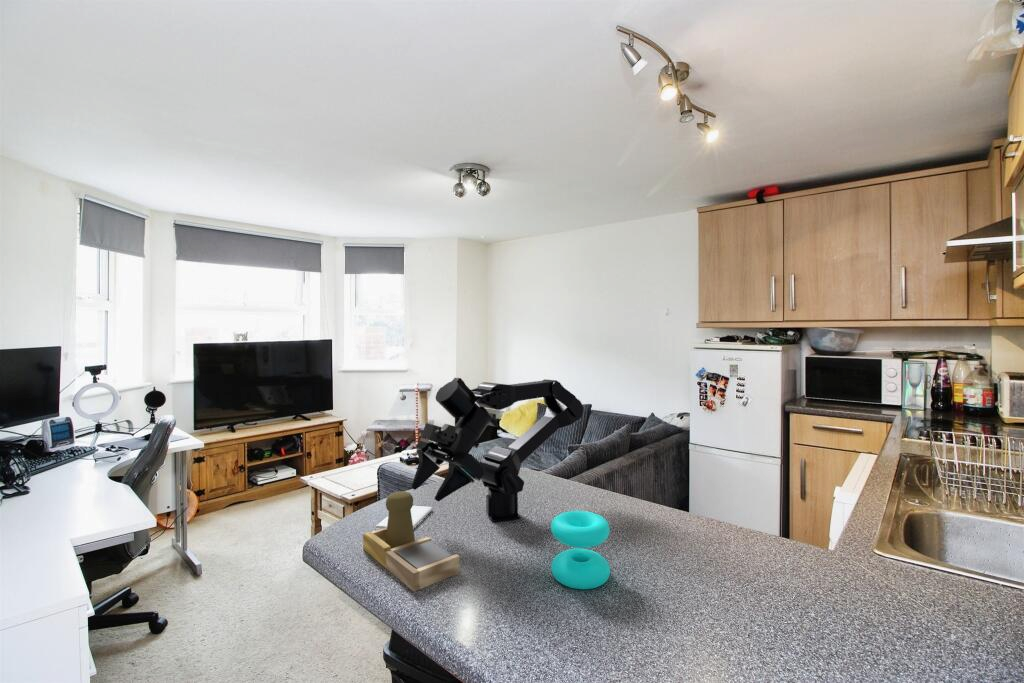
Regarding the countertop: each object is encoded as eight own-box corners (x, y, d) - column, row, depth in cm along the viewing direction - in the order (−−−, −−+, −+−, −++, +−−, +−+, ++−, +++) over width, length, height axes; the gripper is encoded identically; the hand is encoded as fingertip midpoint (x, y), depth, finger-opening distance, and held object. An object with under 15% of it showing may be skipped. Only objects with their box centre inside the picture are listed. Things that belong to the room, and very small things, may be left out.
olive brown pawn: (401, 540, 95) (400, 486, 95) (422, 547, 92) (421, 491, 92) (377, 551, 90) (376, 494, 90) (399, 559, 87) (398, 500, 87)
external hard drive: (432, 513, 111) (410, 535, 99) (400, 511, 113) (375, 532, 101) (432, 506, 111) (410, 528, 99) (400, 504, 113) (375, 524, 101)
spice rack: (405, 535, 98) (404, 519, 98) (459, 572, 82) (459, 553, 82) (362, 549, 92) (362, 531, 92) (413, 591, 76) (413, 570, 76)
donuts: (554, 506, 86) (610, 510, 84) (555, 560, 87) (610, 565, 84) (546, 528, 77) (609, 533, 74) (547, 589, 77) (609, 596, 75)
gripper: (421, 403, 104) (376, 462, 98) (470, 413, 90) (421, 483, 83) (452, 432, 110) (411, 490, 103) (503, 446, 96) (459, 515, 89)
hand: (424, 494), depth 94 cm, fingers open, 9 cm apart
